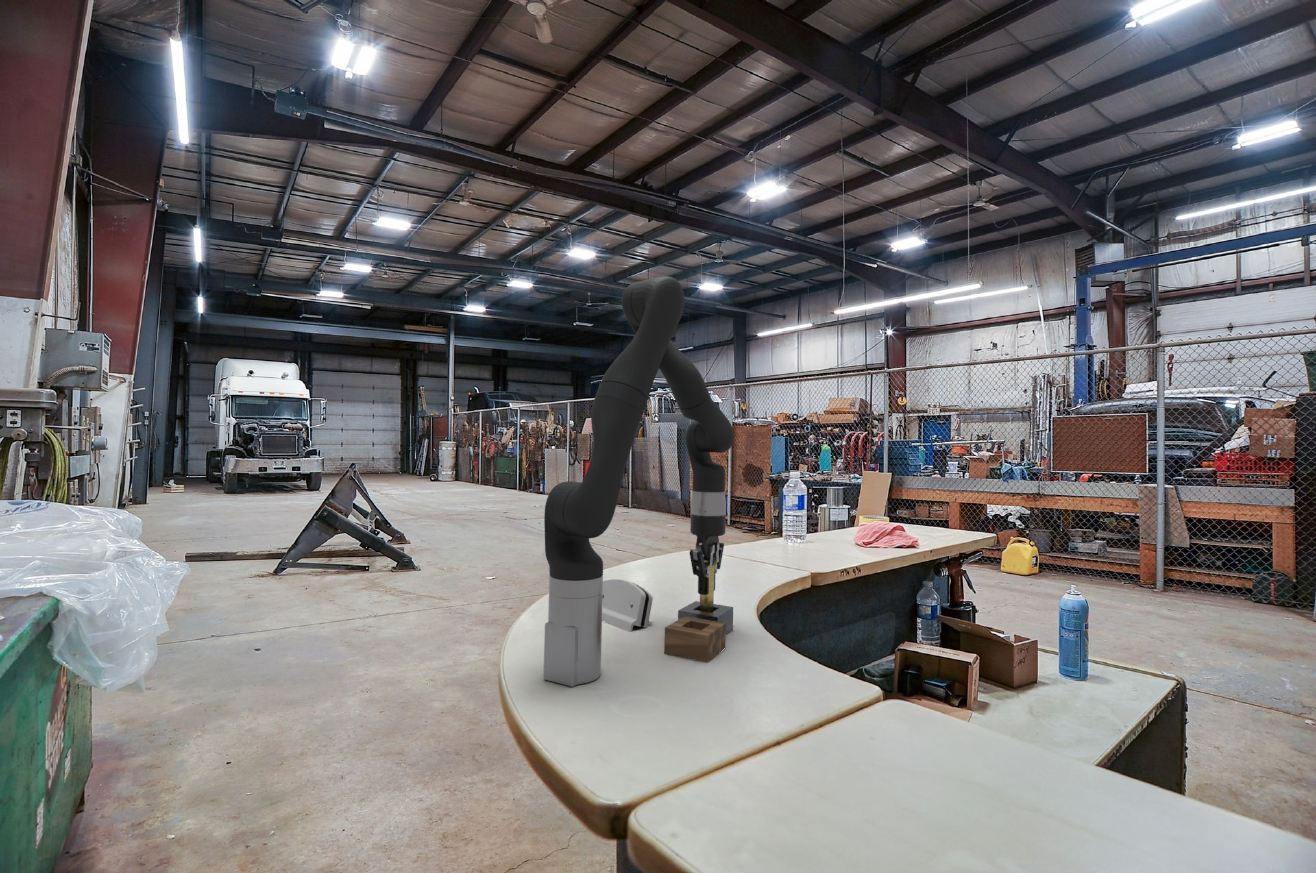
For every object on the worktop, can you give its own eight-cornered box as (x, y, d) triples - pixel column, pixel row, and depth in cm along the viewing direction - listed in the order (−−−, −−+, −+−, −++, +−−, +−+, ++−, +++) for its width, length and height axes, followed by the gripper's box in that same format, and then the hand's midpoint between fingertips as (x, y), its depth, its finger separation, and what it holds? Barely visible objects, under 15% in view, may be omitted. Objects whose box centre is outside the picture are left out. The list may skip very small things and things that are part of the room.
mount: (707, 662, 111) (707, 635, 111) (664, 653, 115) (664, 627, 115) (725, 648, 119) (725, 623, 119) (684, 640, 123) (684, 616, 123)
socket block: (717, 641, 123) (717, 617, 123) (677, 634, 127) (678, 610, 127) (732, 629, 131) (733, 606, 131) (695, 623, 135) (695, 601, 135)
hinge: (584, 614, 140) (597, 572, 142) (600, 617, 143) (612, 576, 145) (630, 632, 128) (643, 585, 130) (646, 635, 131) (658, 590, 133)
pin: (709, 628, 127) (711, 566, 127) (696, 626, 128) (698, 565, 128) (715, 624, 129) (716, 564, 130) (702, 622, 131) (703, 563, 131)
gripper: (711, 516, 121) (709, 602, 121) (736, 510, 134) (734, 588, 133) (678, 514, 125) (676, 597, 125) (705, 508, 137) (703, 583, 137)
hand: (706, 592), depth 129 cm, fingers closed on pin, 3 cm apart
